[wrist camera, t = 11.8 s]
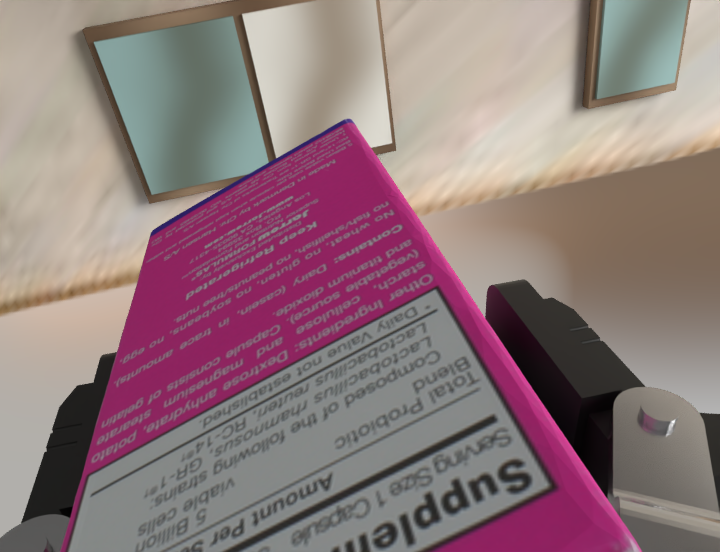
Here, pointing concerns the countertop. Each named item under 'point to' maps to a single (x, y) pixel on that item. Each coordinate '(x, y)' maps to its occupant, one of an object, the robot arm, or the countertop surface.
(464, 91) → the countertop surface
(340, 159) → the supplement box
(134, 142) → the track
